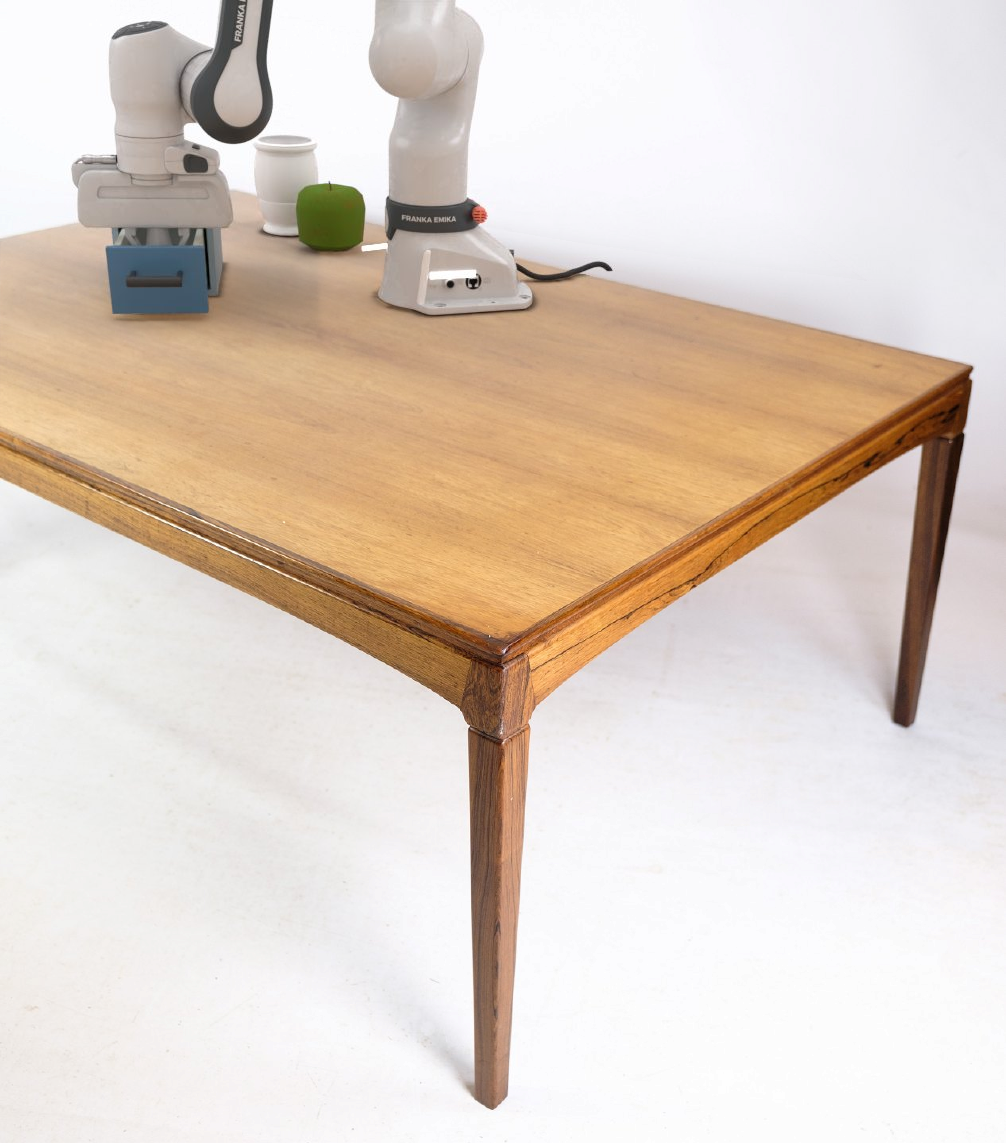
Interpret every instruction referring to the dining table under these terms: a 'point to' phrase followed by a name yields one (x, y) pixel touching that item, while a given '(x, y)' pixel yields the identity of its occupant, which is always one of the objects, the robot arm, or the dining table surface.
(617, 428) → the dining table surface
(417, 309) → the robot arm
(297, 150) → the jar
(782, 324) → the dining table surface
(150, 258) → the drawer
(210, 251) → the cabinet
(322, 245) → the apple
